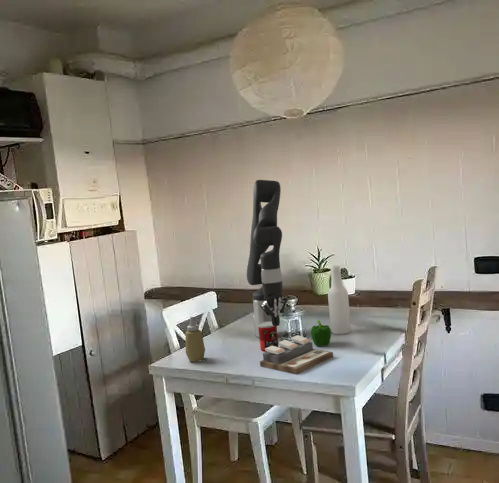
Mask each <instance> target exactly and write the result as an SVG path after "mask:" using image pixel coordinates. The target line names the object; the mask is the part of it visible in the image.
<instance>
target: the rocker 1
mask: <svg viewBox="0 0 499 483" xmlns="http://www.w3.org/2000/svg"><path fill="white" fill-rule="evenodd" d="M279 347H280V346H278V347H275V346H270V347H268V348H265V351H267V352H270V353H271V354H273V353H274V354H277V355H278V354H281V353H283V352H285V349H282V348H279Z"/></svg>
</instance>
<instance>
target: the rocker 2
mask: <svg viewBox="0 0 499 483" xmlns="http://www.w3.org/2000/svg"><path fill="white" fill-rule="evenodd" d="M292 342H293V341H289V340H286V339H283V340H282V341H278V346H279V347H280V346H282V347H284V348H285V349H286V348H287V349H290V350H292V349H295V348H297V347H298V345H297V344H295V343H292Z"/></svg>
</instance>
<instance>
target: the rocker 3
mask: <svg viewBox="0 0 499 483" xmlns="http://www.w3.org/2000/svg"><path fill="white" fill-rule="evenodd" d="M290 341H291V342H293V341H295V342H297V344H298V343H300V344H303V345H304V344H307V343H309V342H311V339H309V338H307V337H304V336H301V335H298V334H297V335H295V336H292V337H291V338H290Z"/></svg>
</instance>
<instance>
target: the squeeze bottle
mask: <svg viewBox="0 0 499 483" xmlns="http://www.w3.org/2000/svg"><path fill="white" fill-rule="evenodd" d="M186 326H187V328H186V329H187V330H186V332H185V335H184V336H185V354H186V356H187V359H188V361H189V362H191V363H194V362H195V363H197V362H200V361H203V360H204V357H205V352H206V348H205V342H204V338H203V334H202V331H201V329H199V324H196V322H195V319H194V317H193V316H190V317H189V325H186Z"/></svg>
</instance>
